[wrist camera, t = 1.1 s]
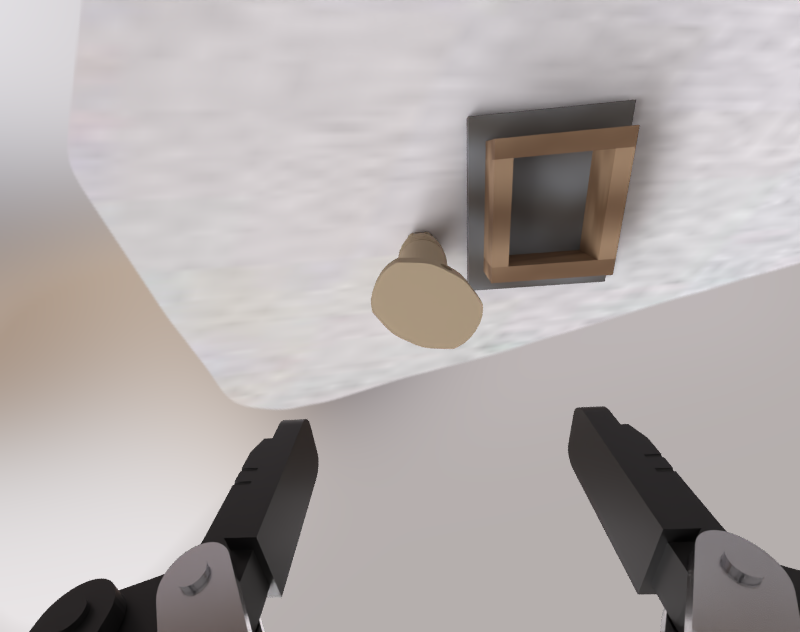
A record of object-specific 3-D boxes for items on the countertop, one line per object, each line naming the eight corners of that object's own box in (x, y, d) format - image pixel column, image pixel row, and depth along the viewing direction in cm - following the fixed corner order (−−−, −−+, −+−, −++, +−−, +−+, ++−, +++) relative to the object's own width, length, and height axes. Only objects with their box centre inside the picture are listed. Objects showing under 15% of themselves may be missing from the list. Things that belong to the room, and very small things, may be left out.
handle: (401, 208, 32) (394, 245, 18) (461, 239, 33) (498, 296, 19) (380, 254, 33) (358, 319, 20) (437, 282, 34) (454, 362, 21)
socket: (466, 118, 28) (476, 110, 24) (628, 101, 28) (666, 91, 23) (467, 287, 35) (475, 304, 30) (599, 278, 34) (625, 294, 30)
